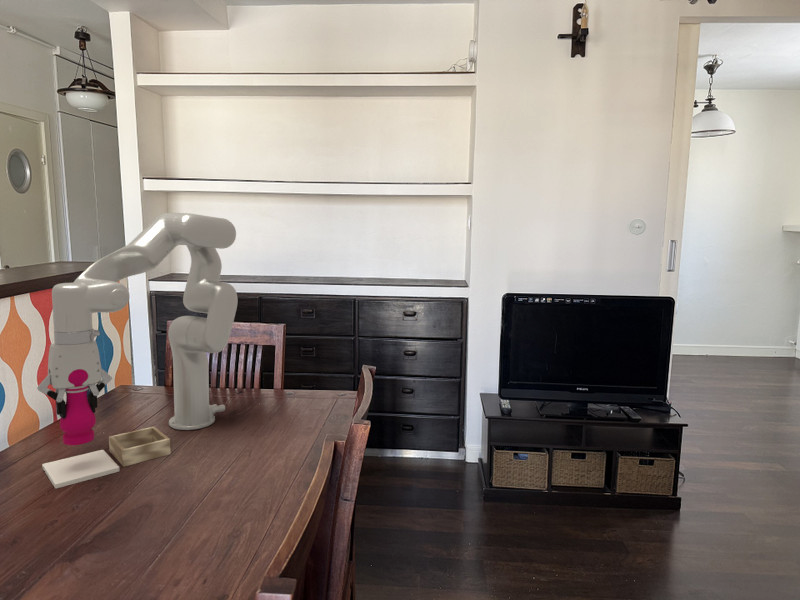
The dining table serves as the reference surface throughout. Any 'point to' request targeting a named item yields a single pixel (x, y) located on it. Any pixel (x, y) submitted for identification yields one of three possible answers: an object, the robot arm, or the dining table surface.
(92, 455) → the tile
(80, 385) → the pepper mill
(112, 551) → the dining table surface
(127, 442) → the holder
